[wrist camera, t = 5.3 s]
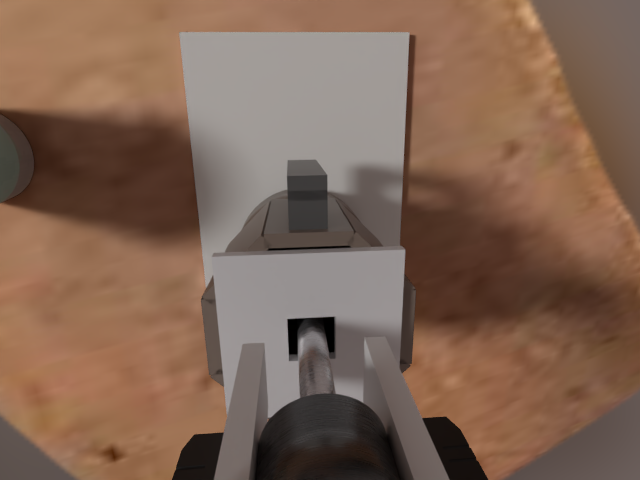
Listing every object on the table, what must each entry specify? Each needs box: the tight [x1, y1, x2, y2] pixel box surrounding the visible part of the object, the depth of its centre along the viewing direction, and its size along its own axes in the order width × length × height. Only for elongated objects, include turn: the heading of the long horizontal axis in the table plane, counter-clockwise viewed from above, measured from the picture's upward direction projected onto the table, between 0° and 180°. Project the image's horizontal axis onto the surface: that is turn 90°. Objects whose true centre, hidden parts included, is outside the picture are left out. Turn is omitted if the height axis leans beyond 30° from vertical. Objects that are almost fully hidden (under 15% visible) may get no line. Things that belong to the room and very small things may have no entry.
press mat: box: [179, 32, 409, 288], centre depth 27 cm, size 20×14×1 cm
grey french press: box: [201, 160, 416, 419], centre depth 22 cm, size 11×9×12 cm
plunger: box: [255, 317, 401, 480], centre depth 15 cm, size 4×4×16 cm
